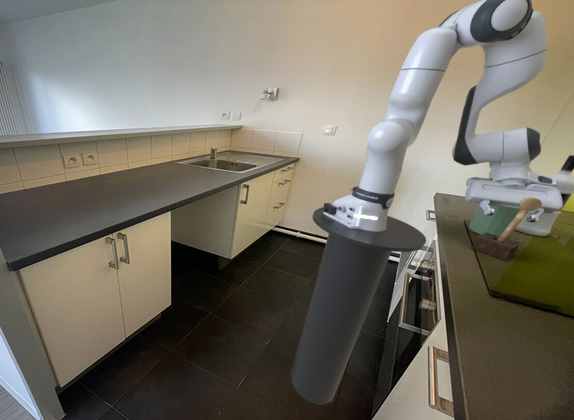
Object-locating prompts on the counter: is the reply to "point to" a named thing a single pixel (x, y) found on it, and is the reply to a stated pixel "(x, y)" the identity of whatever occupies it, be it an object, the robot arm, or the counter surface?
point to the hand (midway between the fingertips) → (510, 218)
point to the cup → (493, 220)
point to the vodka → (546, 220)
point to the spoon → (520, 215)
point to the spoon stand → (495, 246)
